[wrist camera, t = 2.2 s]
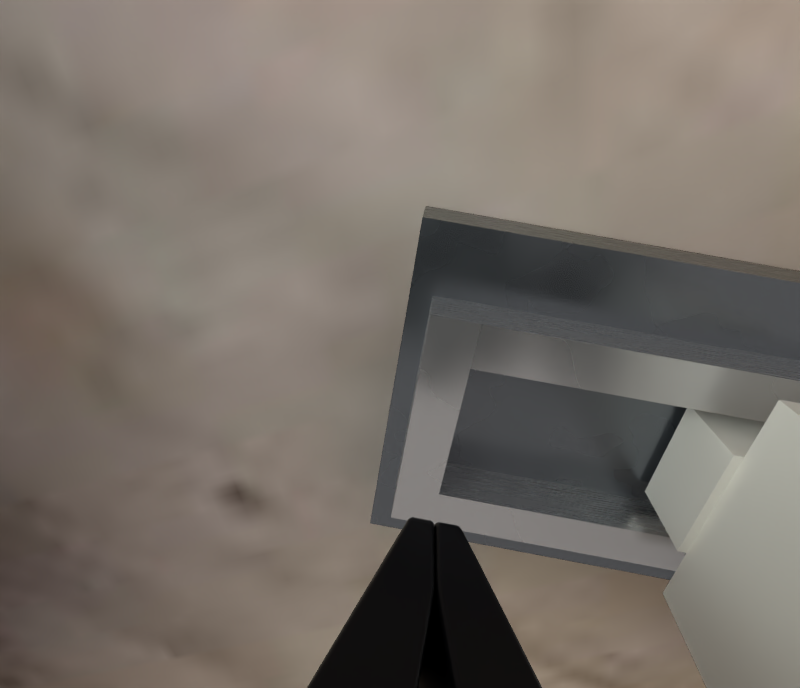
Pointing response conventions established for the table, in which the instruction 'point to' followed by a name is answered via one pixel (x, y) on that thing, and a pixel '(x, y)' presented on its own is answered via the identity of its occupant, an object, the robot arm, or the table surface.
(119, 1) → the table surface
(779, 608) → the fader tab
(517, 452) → the console
